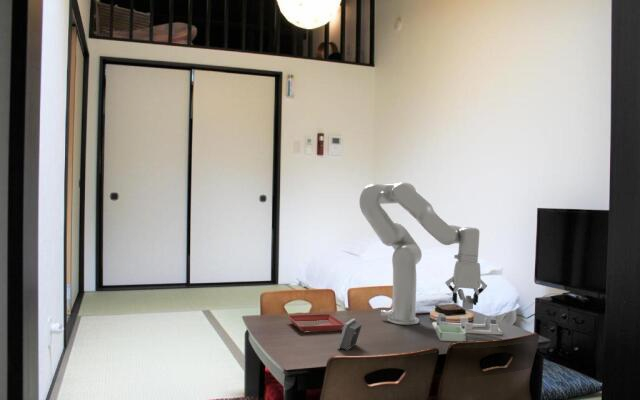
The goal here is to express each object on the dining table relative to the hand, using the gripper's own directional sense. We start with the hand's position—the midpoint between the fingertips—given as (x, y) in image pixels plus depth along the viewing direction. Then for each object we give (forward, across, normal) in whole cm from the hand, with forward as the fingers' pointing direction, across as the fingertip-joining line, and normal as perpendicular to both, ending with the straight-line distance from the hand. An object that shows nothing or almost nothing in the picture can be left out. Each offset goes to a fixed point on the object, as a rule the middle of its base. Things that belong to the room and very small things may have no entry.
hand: (464, 303), depth 211 cm
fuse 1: (+10, -8, 0) cm, 13 cm away
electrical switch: (+12, -44, -33) cm, 56 cm away
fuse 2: (+10, +11, 0) cm, 14 cm away
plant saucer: (+13, -58, -8) cm, 60 cm away
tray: (+10, -7, -13) cm, 18 cm away
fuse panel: (+10, +1, 0) cm, 10 cm away
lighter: (+3, 0, 0) cm, 3 cm away
